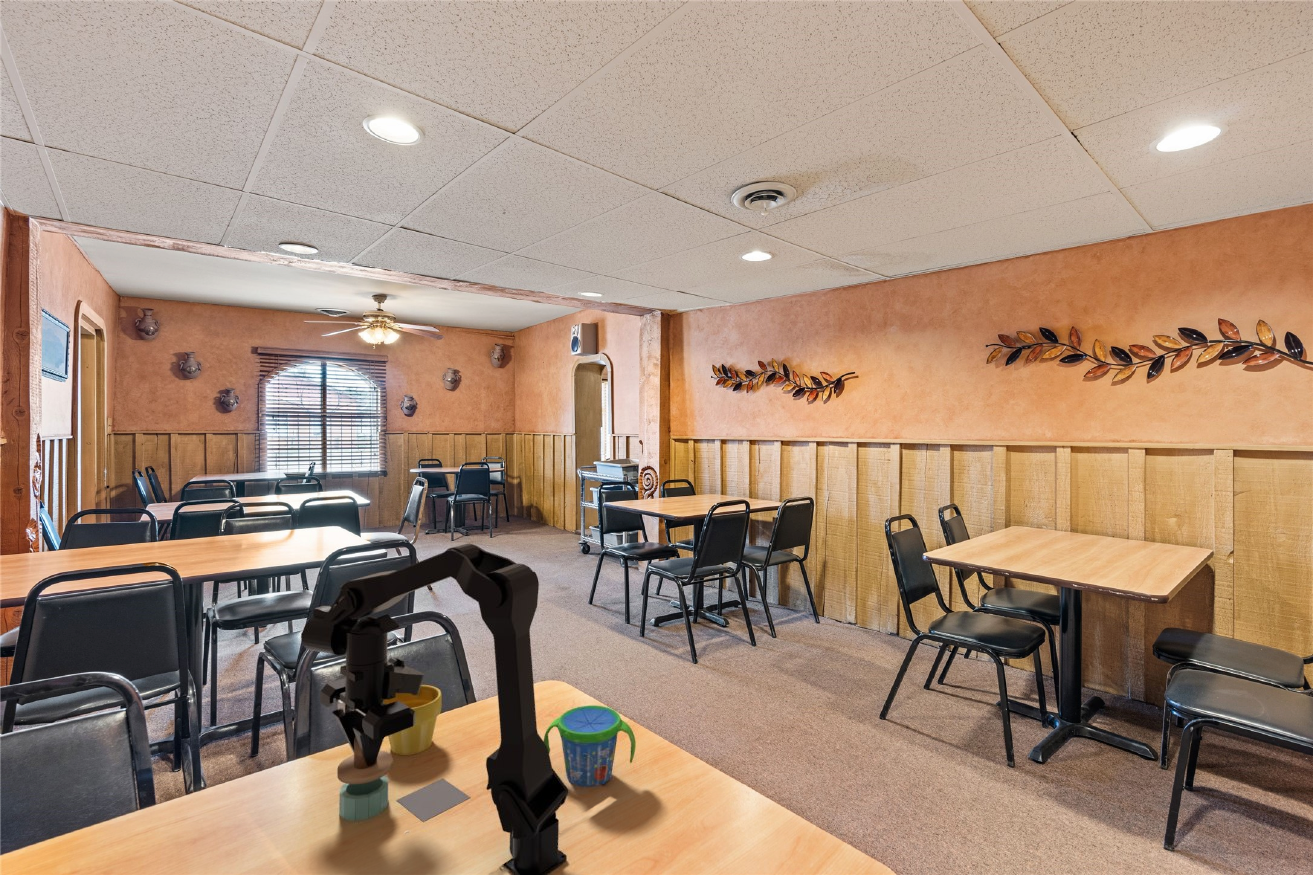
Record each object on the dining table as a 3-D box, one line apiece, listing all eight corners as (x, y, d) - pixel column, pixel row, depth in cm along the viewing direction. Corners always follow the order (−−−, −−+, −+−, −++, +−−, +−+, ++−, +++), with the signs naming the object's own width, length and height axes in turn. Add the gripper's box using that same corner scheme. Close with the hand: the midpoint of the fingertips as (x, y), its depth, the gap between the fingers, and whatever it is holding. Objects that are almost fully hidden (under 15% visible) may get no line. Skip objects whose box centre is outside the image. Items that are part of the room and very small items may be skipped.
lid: (401, 768, 93) (402, 736, 93) (351, 790, 88) (351, 755, 88) (378, 751, 98) (378, 720, 98) (328, 771, 92) (329, 738, 92)
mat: (470, 802, 96) (470, 797, 96) (423, 827, 90) (423, 821, 90) (442, 783, 101) (442, 778, 101) (396, 805, 95) (396, 800, 95)
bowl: (395, 810, 93) (396, 784, 93) (351, 831, 88) (352, 804, 88) (375, 793, 98) (375, 768, 98) (332, 813, 93) (332, 786, 93)
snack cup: (532, 789, 100) (533, 727, 100) (556, 756, 110) (557, 700, 110) (625, 803, 96) (626, 739, 96) (641, 768, 107) (642, 710, 107)
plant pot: (373, 767, 105) (373, 710, 105) (387, 737, 116) (388, 686, 115) (436, 761, 107) (437, 706, 107) (444, 733, 118) (445, 682, 117)
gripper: (448, 659, 93) (446, 761, 93) (388, 632, 105) (387, 722, 105) (375, 681, 85) (374, 793, 85) (319, 649, 96) (318, 747, 97)
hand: (365, 760), depth 93 cm, fingers closed on lid, 3 cm apart
